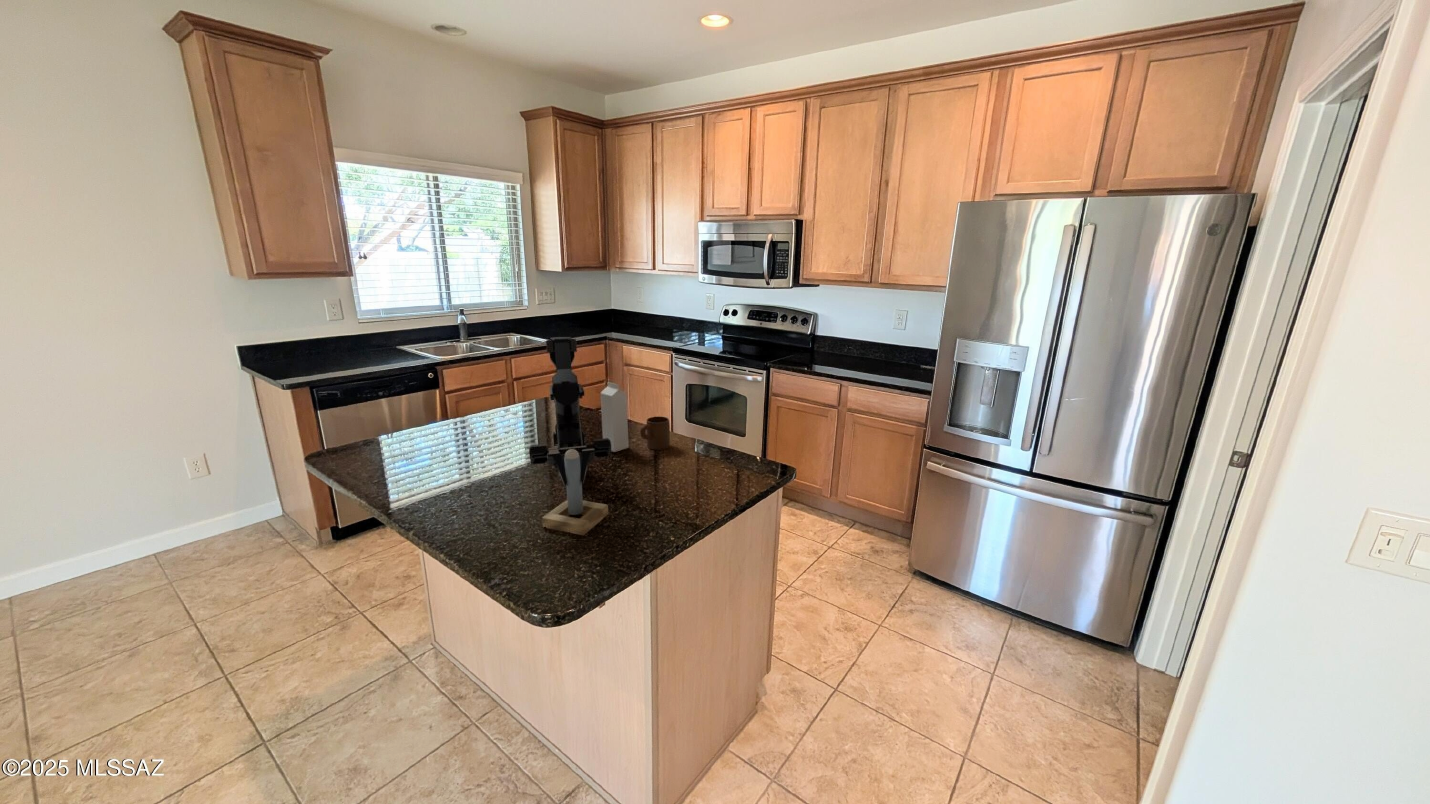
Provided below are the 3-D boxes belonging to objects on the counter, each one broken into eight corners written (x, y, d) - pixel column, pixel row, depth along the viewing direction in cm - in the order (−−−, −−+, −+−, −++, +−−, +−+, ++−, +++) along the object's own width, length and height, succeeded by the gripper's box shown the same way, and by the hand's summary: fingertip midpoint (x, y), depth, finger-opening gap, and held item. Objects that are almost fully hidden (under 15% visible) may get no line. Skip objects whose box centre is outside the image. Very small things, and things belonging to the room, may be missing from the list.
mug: (650, 456, 168) (649, 428, 166) (633, 451, 172) (632, 423, 170) (674, 445, 178) (674, 418, 175) (657, 441, 182) (656, 414, 179)
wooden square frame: (542, 527, 124) (541, 517, 123) (570, 506, 134) (569, 497, 133) (583, 535, 121) (582, 525, 120) (608, 513, 131) (607, 504, 130)
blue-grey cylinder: (565, 511, 127) (560, 449, 122) (577, 506, 129) (573, 445, 125) (573, 516, 124) (569, 453, 120) (586, 511, 127) (582, 449, 123)
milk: (614, 452, 171) (610, 386, 165) (602, 447, 175) (599, 383, 169) (629, 447, 176) (626, 383, 169) (617, 443, 179) (614, 379, 173)
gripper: (605, 435, 140) (612, 491, 133) (531, 442, 135) (534, 501, 127) (607, 416, 131) (615, 474, 124) (527, 422, 125) (530, 484, 118)
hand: (574, 484), depth 123 cm, fingers closed on blue-grey cylinder, 3 cm apart
